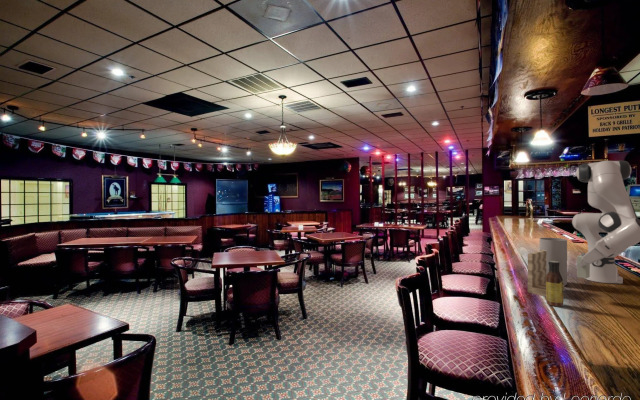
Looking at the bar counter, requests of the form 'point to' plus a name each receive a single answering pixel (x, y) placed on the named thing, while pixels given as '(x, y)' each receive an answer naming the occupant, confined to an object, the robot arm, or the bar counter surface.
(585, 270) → the beige block
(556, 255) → the cylinder vase
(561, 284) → the sauce bottle
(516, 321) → the bar counter surface
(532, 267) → the back board shelf
